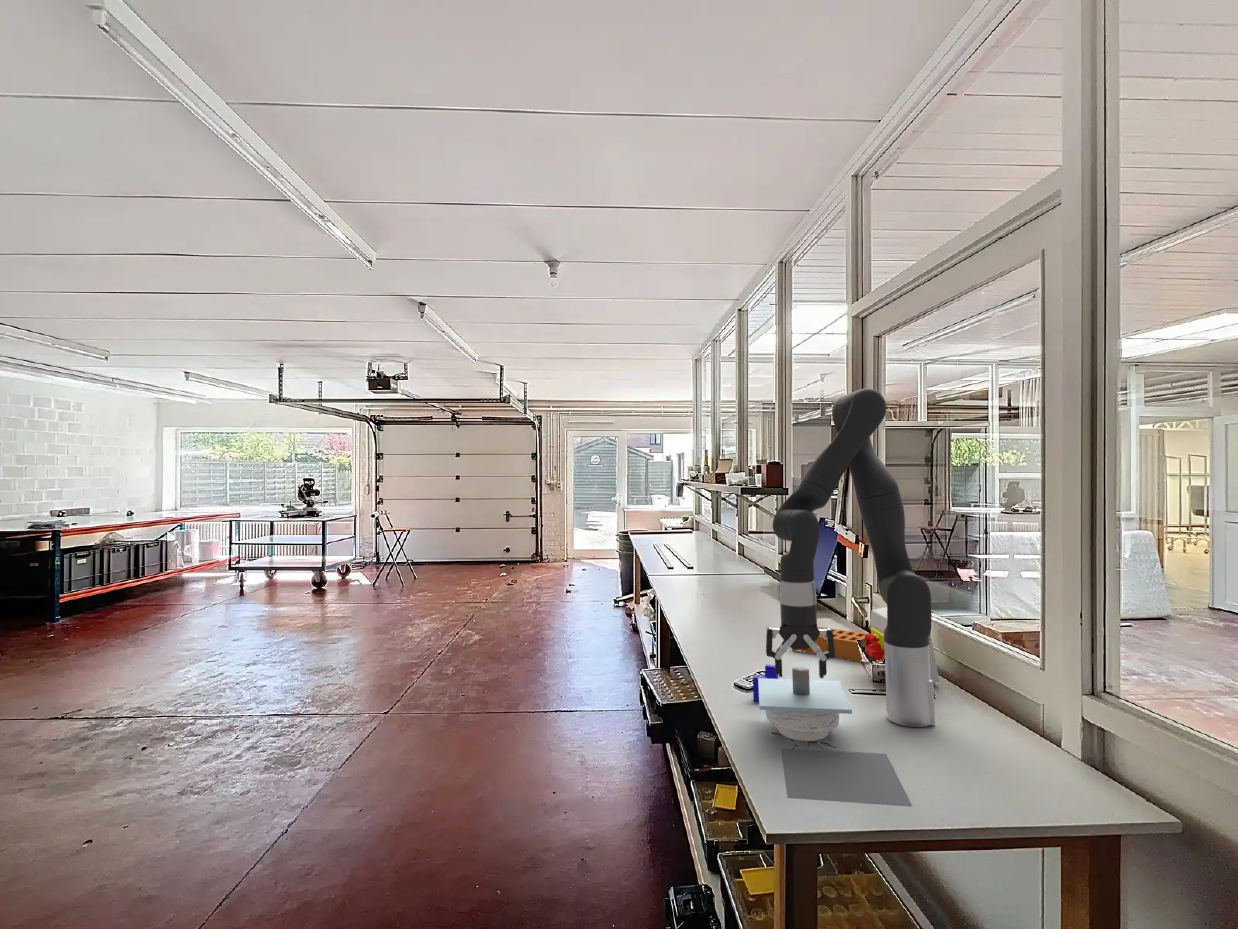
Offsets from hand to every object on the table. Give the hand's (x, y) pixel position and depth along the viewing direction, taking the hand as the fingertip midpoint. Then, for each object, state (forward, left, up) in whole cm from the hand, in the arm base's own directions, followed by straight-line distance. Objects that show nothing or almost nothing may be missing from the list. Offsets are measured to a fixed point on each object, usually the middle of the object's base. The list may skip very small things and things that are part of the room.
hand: (800, 676), depth 136 cm
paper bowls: (0, 0, -12) cm, 12 cm away
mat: (-5, +19, -12) cm, 23 cm away
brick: (-16, -66, -13) cm, 69 cm away
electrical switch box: (-28, -41, -12) cm, 51 cm away
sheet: (0, 0, -4) cm, 4 cm away
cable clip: (+8, -24, -12) cm, 28 cm away
